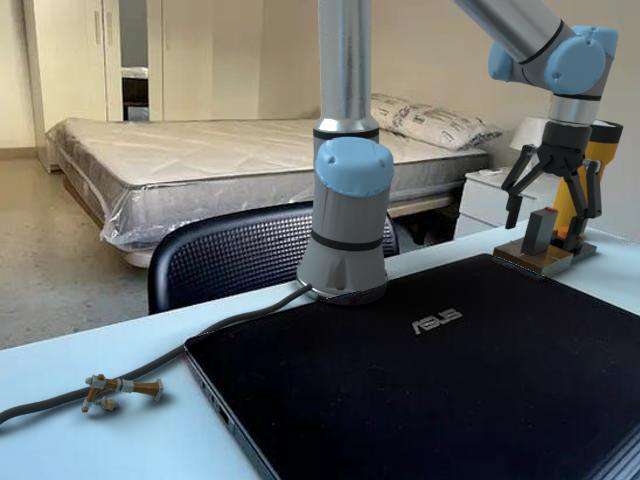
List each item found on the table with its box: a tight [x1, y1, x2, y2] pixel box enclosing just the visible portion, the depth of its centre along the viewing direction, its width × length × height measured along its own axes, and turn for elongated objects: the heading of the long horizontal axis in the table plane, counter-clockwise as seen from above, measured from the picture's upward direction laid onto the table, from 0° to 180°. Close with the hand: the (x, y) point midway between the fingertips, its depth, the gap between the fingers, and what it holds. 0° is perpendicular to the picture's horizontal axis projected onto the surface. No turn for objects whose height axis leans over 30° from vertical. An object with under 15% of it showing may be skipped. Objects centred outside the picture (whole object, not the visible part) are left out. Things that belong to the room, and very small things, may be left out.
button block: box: [549, 230, 598, 266], centre depth 105 cm, size 11×9×4 cm
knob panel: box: [492, 236, 574, 279], centre depth 97 cm, size 12×10×3 cm
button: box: [557, 227, 569, 239], centre depth 104 cm, size 4×4×2 cm
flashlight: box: [552, 119, 624, 238], centre depth 111 cm, size 10×26×10 cm
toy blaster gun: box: [81, 373, 165, 414], centre depth 53 cm, size 2×8×4 cm, turn 118°
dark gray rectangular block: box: [521, 206, 559, 256], centre depth 95 cm, size 6×2×8 cm, turn 129°
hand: (537, 238), depth 95 cm, fingers open, 11 cm apart
